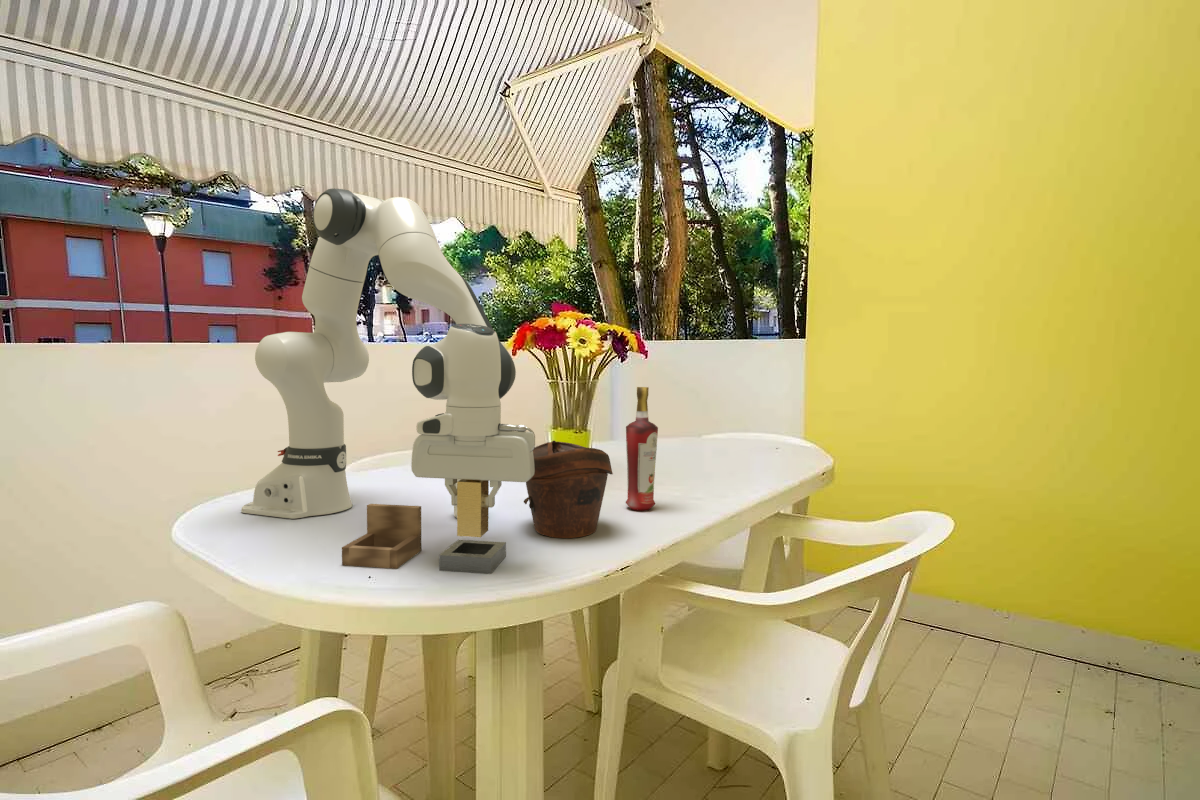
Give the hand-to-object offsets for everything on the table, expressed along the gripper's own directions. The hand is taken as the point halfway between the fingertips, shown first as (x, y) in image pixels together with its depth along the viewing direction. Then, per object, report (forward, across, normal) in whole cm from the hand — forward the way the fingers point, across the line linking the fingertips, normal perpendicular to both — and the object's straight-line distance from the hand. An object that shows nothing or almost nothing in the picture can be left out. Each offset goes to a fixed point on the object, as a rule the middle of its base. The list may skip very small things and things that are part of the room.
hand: (473, 505), depth 103 cm
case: (+10, -11, -23) cm, 27 cm away
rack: (+10, +16, 0) cm, 19 cm away
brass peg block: (+5, 0, 0) cm, 5 cm away
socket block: (+10, 0, 0) cm, 10 cm away
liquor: (+10, -25, -43) cm, 51 cm away
